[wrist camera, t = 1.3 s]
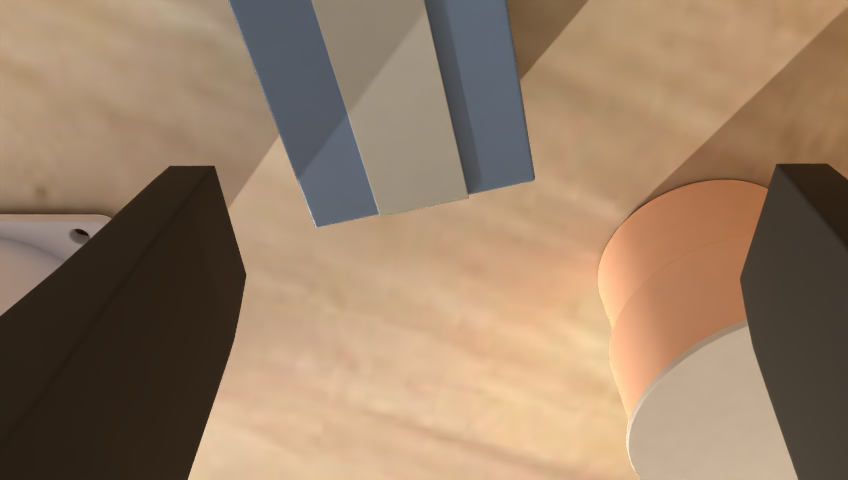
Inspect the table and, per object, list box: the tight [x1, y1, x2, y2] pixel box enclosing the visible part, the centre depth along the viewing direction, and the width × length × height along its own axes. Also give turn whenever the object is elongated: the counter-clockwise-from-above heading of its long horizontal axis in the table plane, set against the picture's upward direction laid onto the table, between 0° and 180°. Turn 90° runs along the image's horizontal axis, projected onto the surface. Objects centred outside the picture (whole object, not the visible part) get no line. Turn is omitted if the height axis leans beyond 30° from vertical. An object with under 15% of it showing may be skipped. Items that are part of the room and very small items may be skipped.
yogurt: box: [598, 179, 798, 480], centre depth 22 cm, size 8×8×6 cm
